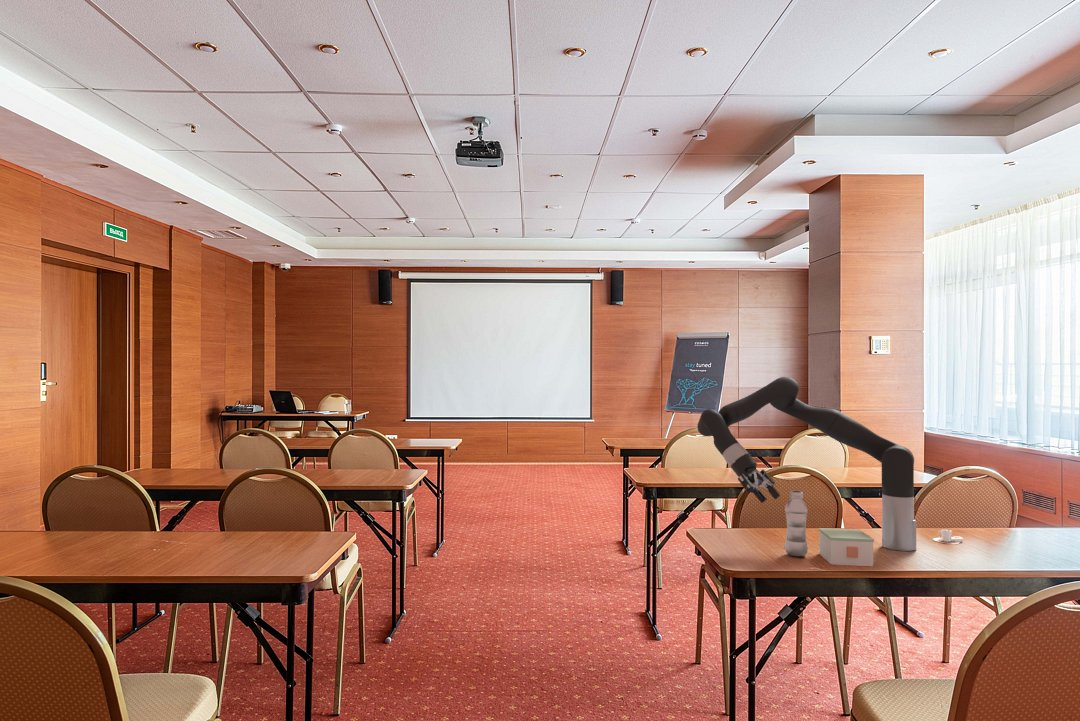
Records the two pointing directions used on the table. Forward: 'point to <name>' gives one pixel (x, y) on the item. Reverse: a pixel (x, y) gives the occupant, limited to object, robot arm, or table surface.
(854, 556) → the raised stand
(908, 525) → the robot arm
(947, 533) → the teacup and saucer
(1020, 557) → the table surface
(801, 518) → the plastic bottle
